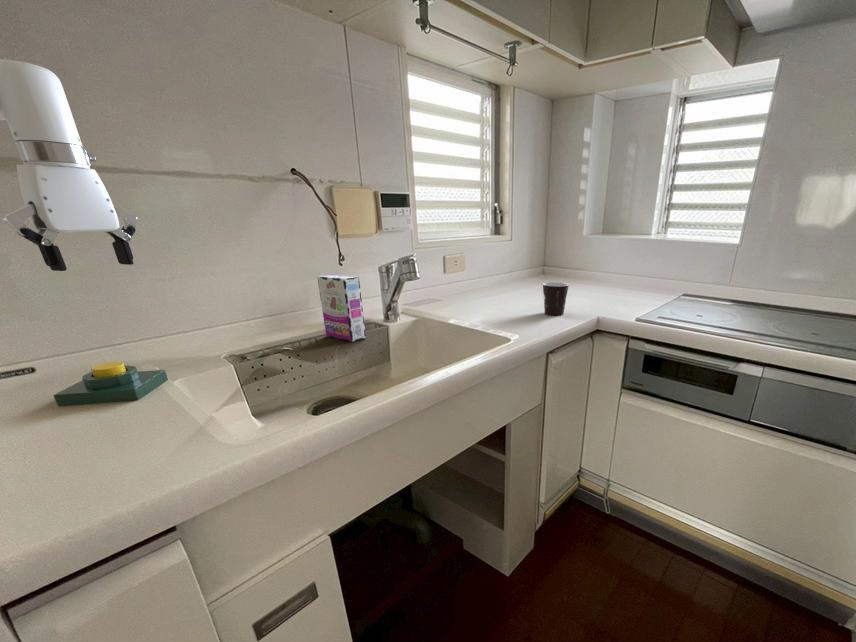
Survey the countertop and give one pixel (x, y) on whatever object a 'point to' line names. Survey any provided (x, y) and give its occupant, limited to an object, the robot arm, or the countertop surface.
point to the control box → (111, 387)
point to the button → (108, 369)
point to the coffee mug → (555, 298)
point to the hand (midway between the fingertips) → (94, 267)
